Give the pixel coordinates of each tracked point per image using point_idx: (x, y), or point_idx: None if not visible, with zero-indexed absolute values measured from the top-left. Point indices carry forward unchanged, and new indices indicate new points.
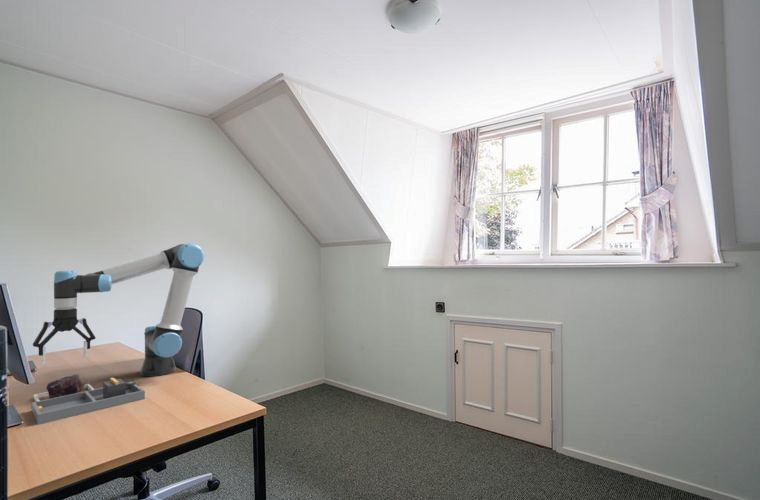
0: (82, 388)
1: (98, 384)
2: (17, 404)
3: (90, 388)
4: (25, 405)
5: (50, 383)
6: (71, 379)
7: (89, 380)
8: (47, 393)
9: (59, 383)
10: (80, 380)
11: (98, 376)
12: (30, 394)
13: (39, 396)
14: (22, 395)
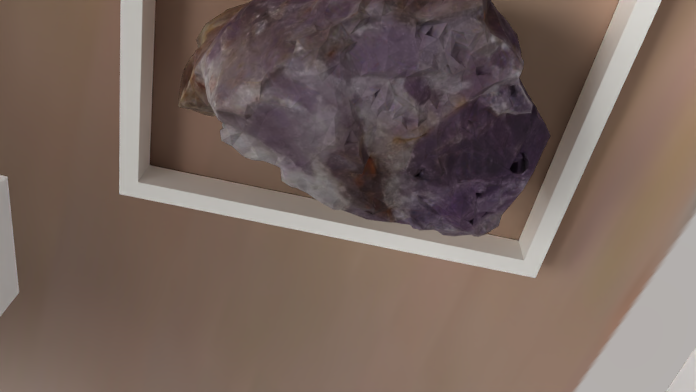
0: (220, 18)
1: (50, 184)
2: (677, 206)
3: (144, 30)
4: (672, 119)
5: (484, 205)
6: (337, 7)
7: (86, 346)
8: (446, 237)
9: (477, 30)
10: (217, 44)
11: (13, 384)
12: (488, 364)
13: (499, 242)
14: (527, 385)
